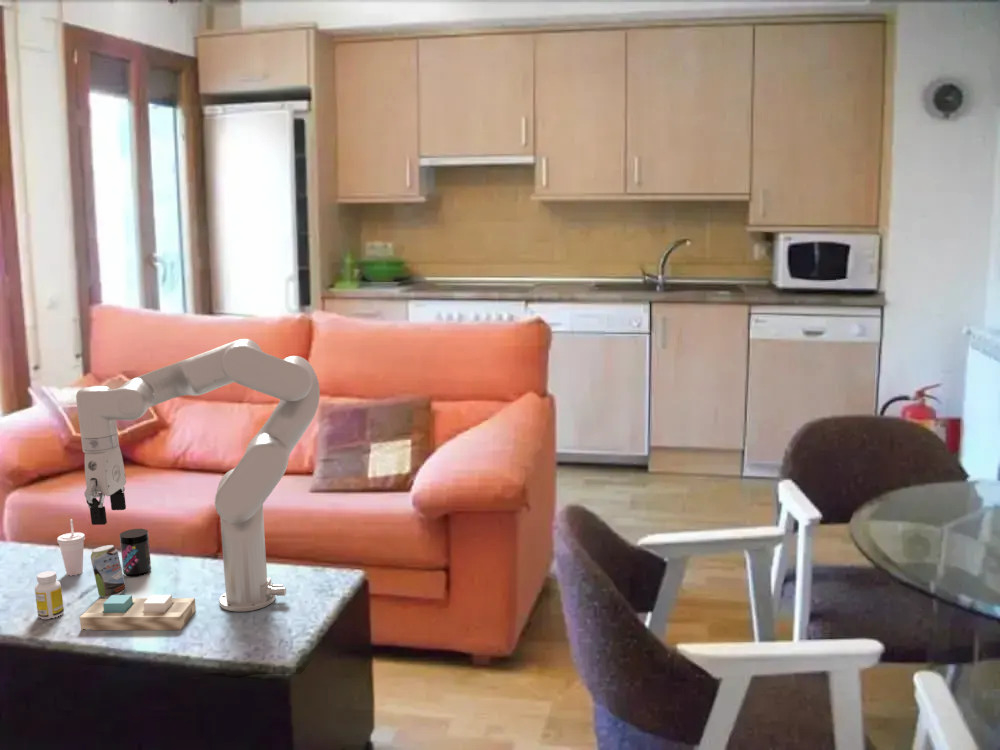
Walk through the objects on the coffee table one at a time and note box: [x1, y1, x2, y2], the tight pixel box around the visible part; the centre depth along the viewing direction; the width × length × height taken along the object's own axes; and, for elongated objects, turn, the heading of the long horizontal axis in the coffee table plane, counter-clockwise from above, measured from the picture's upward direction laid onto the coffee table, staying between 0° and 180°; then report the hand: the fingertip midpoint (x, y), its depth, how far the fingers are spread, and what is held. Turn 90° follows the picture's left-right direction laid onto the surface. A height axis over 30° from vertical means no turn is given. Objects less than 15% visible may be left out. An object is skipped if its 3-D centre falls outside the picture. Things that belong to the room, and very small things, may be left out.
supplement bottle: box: [34, 570, 65, 620], centre depth 224 cm, size 5×5×10 cm
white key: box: [144, 594, 173, 613], centre depth 220 cm, size 5×5×3 cm
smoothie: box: [56, 518, 86, 577], centre depth 248 cm, size 6×6×14 cm
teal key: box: [103, 594, 133, 613], centre depth 221 cm, size 5×5×3 cm
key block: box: [79, 597, 197, 631], centre depth 221 cm, size 22×10×3 cm, turn 88°
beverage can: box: [90, 544, 126, 599], centre depth 234 cm, size 6×7×12 cm
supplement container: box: [119, 528, 152, 578], centre depth 248 cm, size 7×7×10 cm
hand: (109, 516), depth 221 cm, fingers open, 9 cm apart
